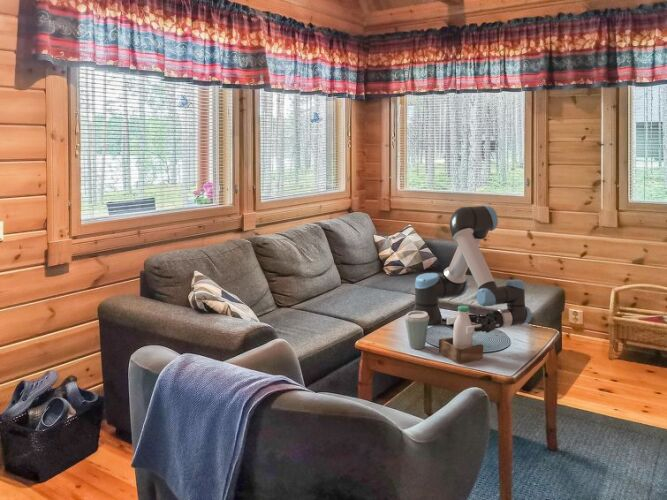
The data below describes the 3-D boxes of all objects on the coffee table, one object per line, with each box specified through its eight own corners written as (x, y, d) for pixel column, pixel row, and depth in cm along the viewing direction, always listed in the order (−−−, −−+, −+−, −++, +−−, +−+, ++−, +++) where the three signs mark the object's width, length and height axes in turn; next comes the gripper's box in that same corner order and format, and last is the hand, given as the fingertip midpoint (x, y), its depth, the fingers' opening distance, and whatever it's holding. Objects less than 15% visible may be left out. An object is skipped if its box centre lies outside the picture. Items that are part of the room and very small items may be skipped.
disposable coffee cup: (424, 352, 252) (424, 318, 250) (400, 348, 258) (400, 314, 255) (432, 345, 262) (433, 311, 259) (409, 341, 267) (409, 308, 264)
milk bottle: (472, 357, 243) (473, 309, 240) (452, 355, 245) (453, 308, 242) (471, 350, 251) (473, 304, 247) (452, 349, 252) (454, 303, 249)
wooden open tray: (438, 353, 251) (438, 339, 250) (462, 349, 256) (462, 335, 255) (458, 364, 239) (458, 349, 238) (482, 359, 243) (483, 345, 242)
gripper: (518, 335, 242) (475, 343, 234) (479, 319, 265) (439, 326, 256) (519, 318, 241) (476, 324, 232) (480, 303, 263) (439, 309, 255)
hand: (456, 325), depth 244 cm, fingers open, 13 cm apart
